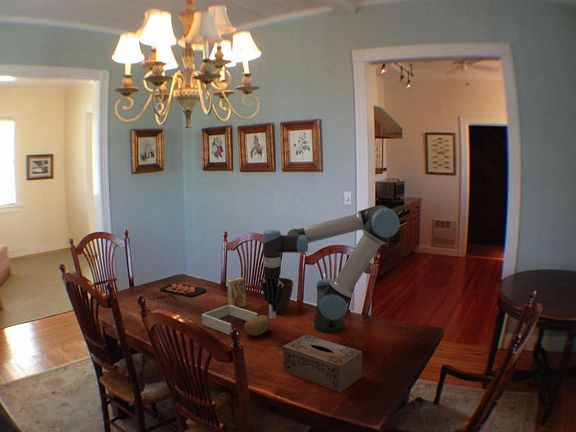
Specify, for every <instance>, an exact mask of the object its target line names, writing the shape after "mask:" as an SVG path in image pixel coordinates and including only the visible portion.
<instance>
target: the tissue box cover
mask: <svg viewBox="0 0 576 432" xmlns="http://www.w3.org/2000/svg"><path fill="white" fill-rule="evenodd" d="M282 360H283V361H282V365H283V367H282V368H283V371H284V372H286V373H289V374H291V375H294V376H297V377H298V378H299V377H300V378H302V379H304V380H307V381H309V382H311V383H314V384H317V385H320V386H322V387H324V388H327V389H329V390H332V391H334V392H336V393H337V392H338V393H342V392H343V391H345V390H346V389H347V388H348V387H350V386H352V385H353V384H354V383H356V381H358V380H359V379H361V378H362V376H363V351H361V350H359V349H356V348H352V347H349V346H345V345H342V344H340V343H337V342H333V341H330V340H325V339H323V338H320V337H317V336H313V335H311V334H307V333H306V334H303V335H301V336H300V337H298V338H296V339H294V340H292V341H291V342H289V343H287V344H285V345H283V346H282Z"/></svg>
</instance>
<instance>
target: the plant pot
mask: <svg viewBox="0 0 576 432" xmlns="http://www.w3.org/2000/svg"><path fill="white" fill-rule="evenodd" d="M280 281H281V282H282V283H284V284H285V285H284V287H283V291H282V296H281V301H280V303H278V304H277V310H276V315H280V314H284V313H286V312H287V310H288V308H289V305H290V301H291V297H292V294H293V288H294V281H293V280H292V279H290V278H286V277H285V278H284V277H280Z"/></svg>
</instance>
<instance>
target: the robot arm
mask: <svg viewBox="0 0 576 432" xmlns="http://www.w3.org/2000/svg"><path fill="white" fill-rule="evenodd" d="M400 223H401V222H400V217H399V216H398V213H396V212H395V211H394V210H393V209H392V208H389V207H387V206H385V205H380V204H379V205H374V206H370V207H367V208H364V209H362V210H358V211H357V212H356V213H355V214H350V215H347V216H344V217H340V218H339V217H338V218H335V219H332V220H328V221H323V222H320V223H316V224H313V225H310V226H305V227H301V228H298V229H297V228H293V229H290V230H289V231H288V232H287V234H286V235H283V234H281V231H280V230H277V229H267V230H265V231H264V232H263V234H262V235H263V237H262V254H263V256H262V259H263V261H262V262H263V267H262V268H263V269H262V270H263V278H261V279H259V282H260V284H261V288H262V295H263V299H264V301H265V302H267V310H268V318H269V320H270V319H271V320H272V319H276V317H277V316H276V315H277V313H276V310H277V304H278V303H280V301H281V296H282V291H283V287H284V285H285V284H284V283H282V282H281V281H280V278H281V277H280V276H281V272H282V271H281V258H282V257H281V255H282V253H294V254H295V253H296V254H298V253H299V254H301V253H307V252H308V250H309V244H311V243H314V242H318V241H322V240H325V239H330V238H334V237H337V236H342V235H346V234H349V233H353V232H358V231H362V233H363V234H362V236H361V237H360V239H359V241H358V242H357V244H356V245H355V247H354V249H353V250H352V252H351V254H350V255H349V257H348V259H347V260H346V262H345V263H344V265H343V266H342V268H341V269H340V271H339V273H338V274H337V275H336V278H325V279H324V278H323V279H319V280H318V281H317V282H316V313H315V317H314V320H313V328H314V330H315V331H317V332H319V333H325V334H335V333H336V334H337V333H340V332H343V331H344V330H345V329H346V320H345V318H344V315H346V313H347V310H348V304H349V302H350V301H351V300H352V298H353V292H352V291H353V290H354V288H355V286H356V285H357V284H358V282H359V280H360V279H361V277H362V275H363V274H364V273H365V270H366V269H367V267H368V265H369V264H370V263H371V261H372V260H373V257H375V255H376V253H377V252H378V250H379V249H380V247H381V246H382V245H385V244H387V243H388V241H389V239H390V238H391V237H393V236H394V235H395V234H397V232H398V230H399V229H400Z"/></svg>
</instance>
